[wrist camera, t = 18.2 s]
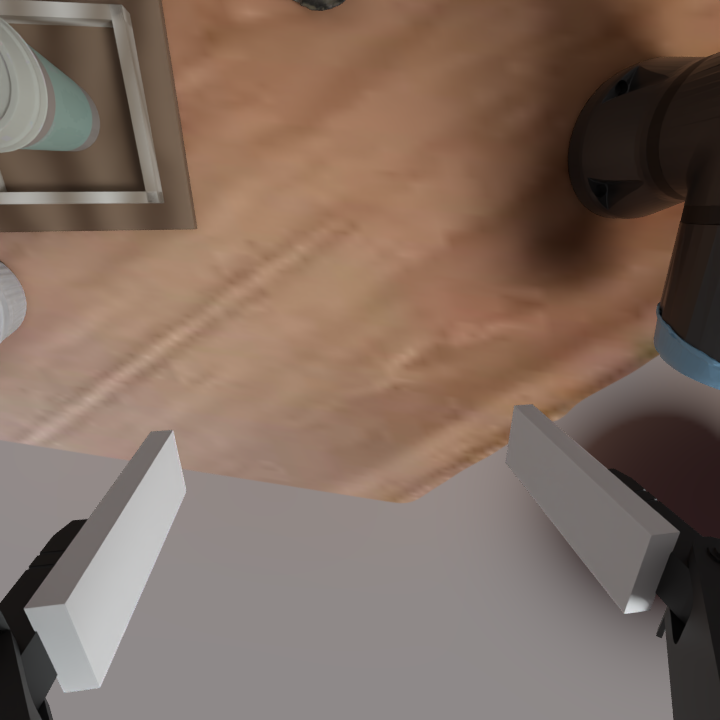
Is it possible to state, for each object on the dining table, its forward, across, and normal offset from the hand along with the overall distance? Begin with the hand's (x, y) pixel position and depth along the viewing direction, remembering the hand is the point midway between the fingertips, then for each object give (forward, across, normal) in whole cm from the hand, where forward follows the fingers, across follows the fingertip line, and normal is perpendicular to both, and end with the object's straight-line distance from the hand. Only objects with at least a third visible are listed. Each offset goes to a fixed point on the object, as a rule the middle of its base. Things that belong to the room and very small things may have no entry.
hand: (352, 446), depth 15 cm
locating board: (+32, -23, +17) cm, 43 cm away
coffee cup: (+31, -23, +17) cm, 42 cm away
